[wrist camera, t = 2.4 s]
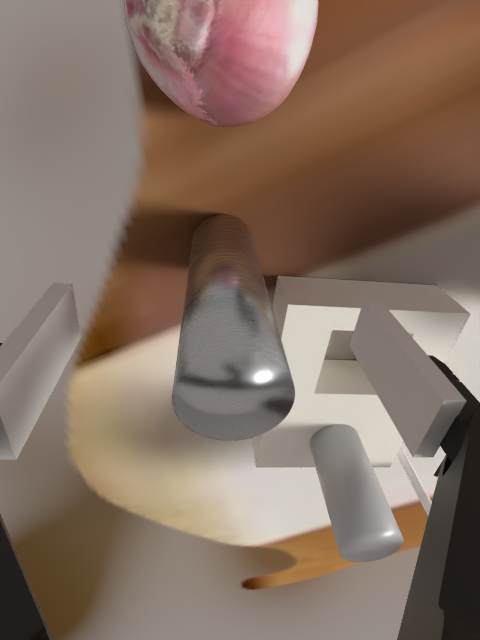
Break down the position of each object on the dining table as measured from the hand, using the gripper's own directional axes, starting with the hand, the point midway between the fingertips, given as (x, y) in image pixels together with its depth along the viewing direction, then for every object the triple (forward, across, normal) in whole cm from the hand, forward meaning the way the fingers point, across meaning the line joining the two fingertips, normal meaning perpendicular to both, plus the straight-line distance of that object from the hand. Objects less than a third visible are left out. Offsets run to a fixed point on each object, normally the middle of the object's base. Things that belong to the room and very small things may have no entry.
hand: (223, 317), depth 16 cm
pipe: (+8, 0, 0) cm, 9 cm away
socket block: (+8, +10, -10) cm, 16 cm away
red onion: (+9, -1, +11) cm, 14 cm away
